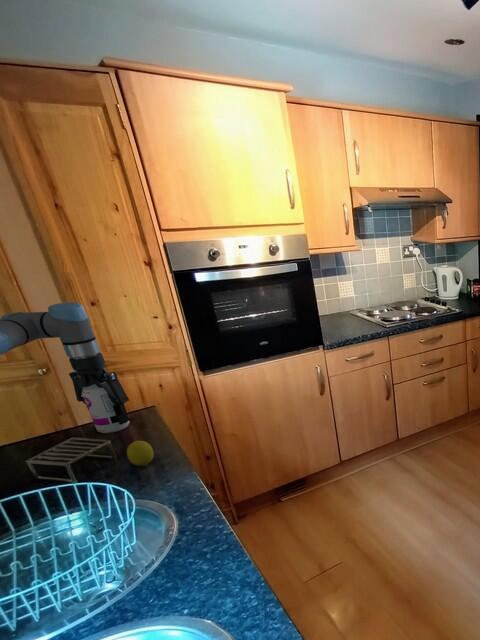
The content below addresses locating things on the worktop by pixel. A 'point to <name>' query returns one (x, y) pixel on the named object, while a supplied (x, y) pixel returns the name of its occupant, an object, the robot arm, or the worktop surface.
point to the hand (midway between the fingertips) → (111, 421)
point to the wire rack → (78, 455)
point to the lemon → (140, 453)
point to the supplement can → (101, 409)
